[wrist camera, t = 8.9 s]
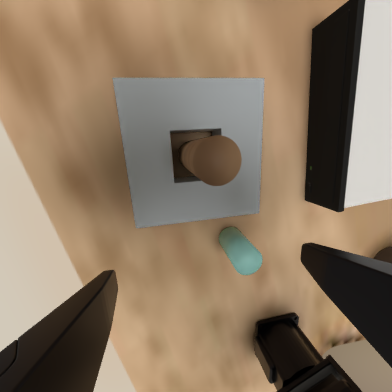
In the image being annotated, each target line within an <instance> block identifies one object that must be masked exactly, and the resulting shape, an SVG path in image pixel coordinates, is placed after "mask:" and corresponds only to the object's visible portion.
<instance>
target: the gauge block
mask: <svg viewBox="0 0 392 392" xmlns="http://www.w3.org/2000/svg"><path fill="white" fill-rule="evenodd" d="M113 84H114V90H115V97H116V103H117V109H118V116H119V122H120V129H121V135H122V142H123V148H124V155H125V161H126V167H127V174H128V180H129V187H130V193H131V200H132V206H133V212H134V219H135V225H136V228H144V227H152V226H160V225H168V224H176V223H184V222H192V221H200V220H208V219H216V218H224V217H232V216H240V215H248V214H256V213H259V207H260V180H261V154H262V127H263V101H264V78H113ZM207 131H212V136H216V135H221V136H226V137H228V138H230V139H232V140H233V141H234V142H235V143H236V144H237V146H238V147H239V149H240V152H241V157H242V162H241V167H240V170H239V172H238V174H237V175H236V177H235V178H234V179H233V180H232V181H230V182H229V183H227V184H225V185H222V186H211V185H208V184H206V183H204V182H203V181H201V180H200V179H199V178H198V177H197V176H190V177H178V178H174V172H173V161H172V150H171V139H170V133H185V132H207Z"/></svg>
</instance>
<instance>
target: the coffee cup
mask: <svg viewBox="0 0 392 392" xmlns="http://www.w3.org/2000/svg"><path fill="white" fill-rule="evenodd" d="M374 259H376V260H380V261H383V262H387V263H391V264H392V247H388V248H385V249H383V250H381V251H380V252H379V253H378V254H377V255H376V256H375V258H374Z"/></svg>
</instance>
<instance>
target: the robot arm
mask: <svg viewBox="0 0 392 392" xmlns="http://www.w3.org/2000/svg"><path fill="white" fill-rule="evenodd" d="M301 262H302V264H303V265H304V266H305V268H306V269H307V270H308V272H309V273H310V274H311V276H312V277H313V278H314V280H315V281H316V282H317V284H318V285H319V286H320V288H321V289H322V290H323V291H324V292H325V294H326V295H327V296H328V297H329V298H330V299H331V300H332V301H333V303H334V304H335V305H336V306H337V307H338V308H339V309H340V310H341V312H342V313H343V314H344V315H345V316H346V317H347V318H348V319H349V320H350V322H351V323H352V324H353V325H354V326H355V327H356V328H357V329H358V331H359V332H360V333H361V334H362V335H363V336H364V337H365V338H366V340H367V341H368V342H369V343H370V344H371V345H372V346H373V347H374V348H375V350H376V351H377V352H378V353H379V354H380V355H381V356H382V357H383V359H384V360H385V361H386V362H387V363H388V364H389V365H390V366H391V368H392V264H391V263H387V262H383V261H380V260H376V259H372V258H368V257H364V256H360V255H357V254H353V253H349V252H345V251H341V250H338V249H334V248H330V247H326V246H322V245H318V244H315V243H305V244H303V245H302V250H301ZM117 293H118V284H117V279H116V273H115V271H114V270H107V271H103V272H102V273H101V274H100V275H98V276H97V277H96V278H94V279H93V280H92V281H91V282H89V283H88V284H87V285H85V286H84V287H83V288H82V289H80V290H79V291H78V292H76V293H75V294H74V295H73V296H71V297H70V298H69V299H68V300H66V301H65V302H64V303H62V304H61V305H60V306H59V307H57V308H56V309H55V310H53V311H52V312H51V313H50V314H49V315H47V316H46V317H44V318H43V319H42V320H41V321H39V322H38V323H37V324H36V325H34V326H33V327H32V328H30V329H29V330H28V331H27V332H25V333H24V334H23V335H21V336H20V337H19V338H18V340H15V341H14V342H12V343H11V344H10V345H9V346H7V347H6V348H5V349H4V350H2V351H1V352H0V392H93V390H94V386H95V383H96V380H97V376H98V373H99V369H100V366H101V362H102V359H103V355H104V352H105V349H106V345H107V341H108V338H109V335H110V331H111V326H112V321H113V315H114V310H115V304H116V299H117ZM298 320H299V317H298V315H297V314H295V313H294V314H290V315H285V316H281V317H276V318H272V319H267V320H263V321H259V322H257V324H256V336H255V345H254V351H255V355H256V357H257V358H258V360H259V362H260V364H261V366H262V368H263V370H264V373H265V375H266V377H267V379H268V381H269V382H270V383H271V384H272V383H274V385H275V387H276V389H277V392H362V391H361V390H360V389H359V387H358V386H357V385H356V384H355V383H354V382H353V381H352V379H351V378H350V377H349V376H348V375H347V374H346V373H345V371H344V370H343V369H342V368H341V367H340V366H339V365H338V364H337V362H336V361H335V360H334V359H333V358H332V357H331V355H328V356H327V357H326V359H323V358H322V356H321V355H320V354H319V353H318V351H317V350H316V349H315V347H314V346H313V345H312V343H311V342H310V341H309V339H308V338H307V337H306V336H305V334H304V333H303V332H302V330H301V329H300V328H299V326H298Z"/></svg>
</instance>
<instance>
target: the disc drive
mask: <svg viewBox="0 0 392 392" xmlns="http://www.w3.org/2000/svg"><path fill="white" fill-rule="evenodd" d="M391 198H392V0H349V1H348V2H346V3H345V4H344V5H343V6H341V7H340V8H339V9H337V10H336V11H335V12H334V13H332V14H331V15H330V16H329V17H327V18H326V19H325V20H323V21H322V22H321V23H320V24H318V25H317V26H316V27H315V28H313V29H312V52H311V74H310V96H309V119H308V141H307V163H306V186H305V200H306V201H308V202H311V203H314V204H317V205H319V206H322V207H325V208H328V209H331V210H333V211H336V212H342V211H344V208H346V207H351V206H356V205H361V204H366V203H371V202H376V201H381V200H386V199H391Z"/></svg>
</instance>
